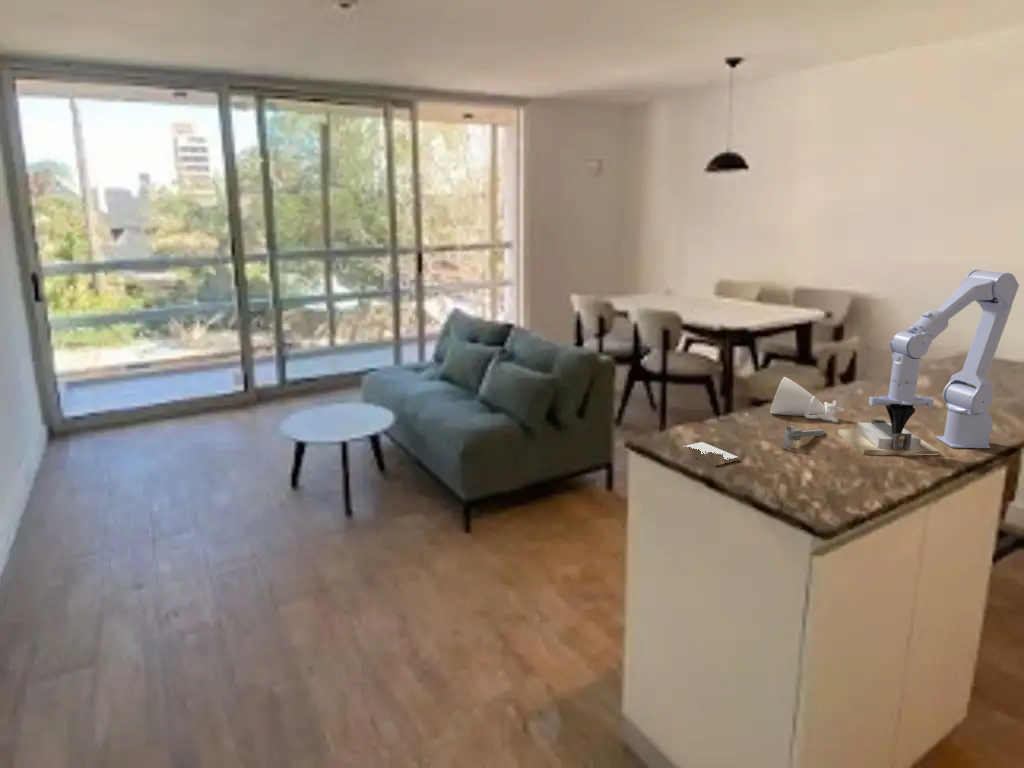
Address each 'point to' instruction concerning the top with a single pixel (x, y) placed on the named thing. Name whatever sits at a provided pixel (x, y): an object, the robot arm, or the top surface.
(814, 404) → the rocket engine
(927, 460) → the top surface
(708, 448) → the external hard drive
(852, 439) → the base board
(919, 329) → the robot arm
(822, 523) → the top surface
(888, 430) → the grey flat bar
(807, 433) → the caliper
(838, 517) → the top surface
